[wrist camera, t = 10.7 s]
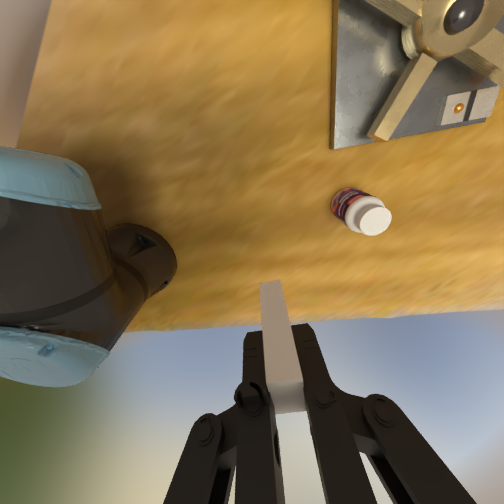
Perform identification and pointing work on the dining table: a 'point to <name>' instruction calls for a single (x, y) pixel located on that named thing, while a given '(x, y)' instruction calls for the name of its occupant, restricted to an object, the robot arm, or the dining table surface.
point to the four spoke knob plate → (440, 47)
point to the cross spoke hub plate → (394, 80)
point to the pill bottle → (361, 211)
